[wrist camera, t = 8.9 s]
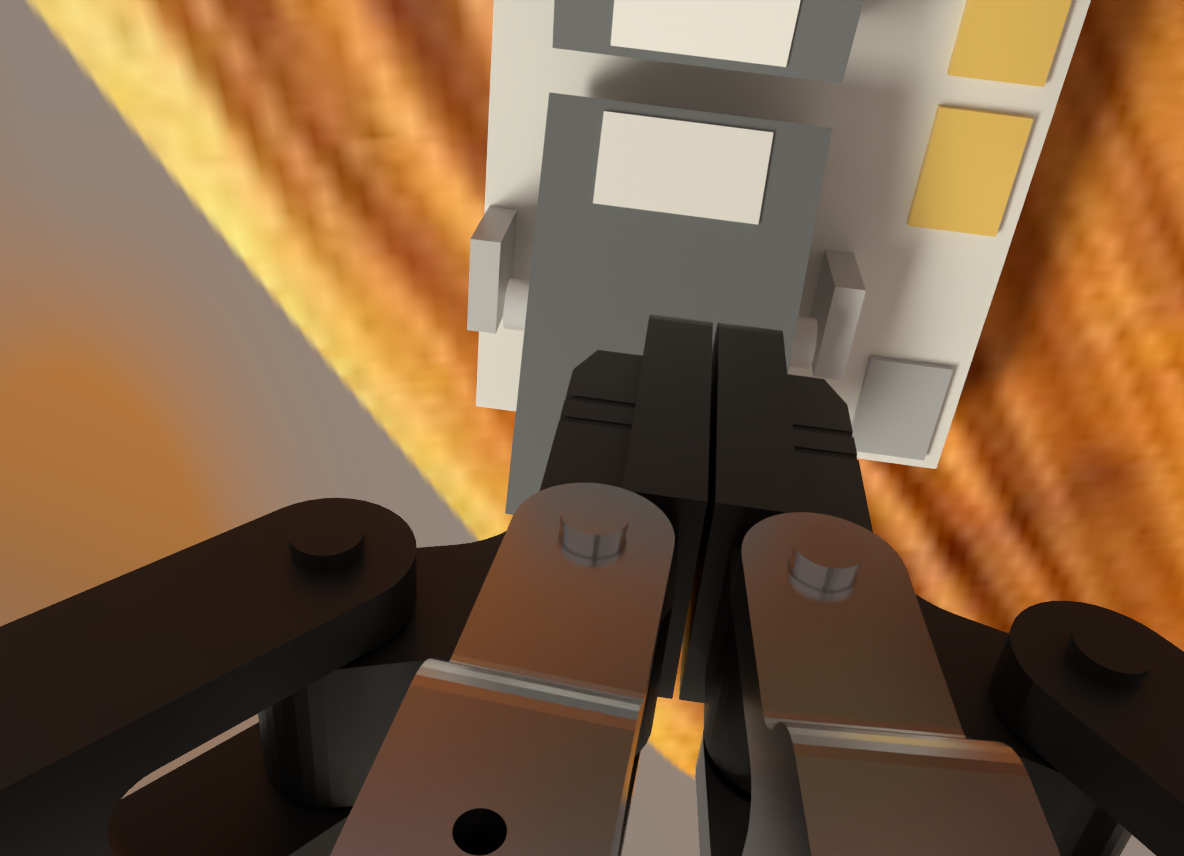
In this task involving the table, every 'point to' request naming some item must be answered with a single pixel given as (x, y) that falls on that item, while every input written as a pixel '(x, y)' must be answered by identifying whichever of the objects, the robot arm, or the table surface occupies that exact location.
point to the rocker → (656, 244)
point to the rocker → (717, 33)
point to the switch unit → (826, 188)
